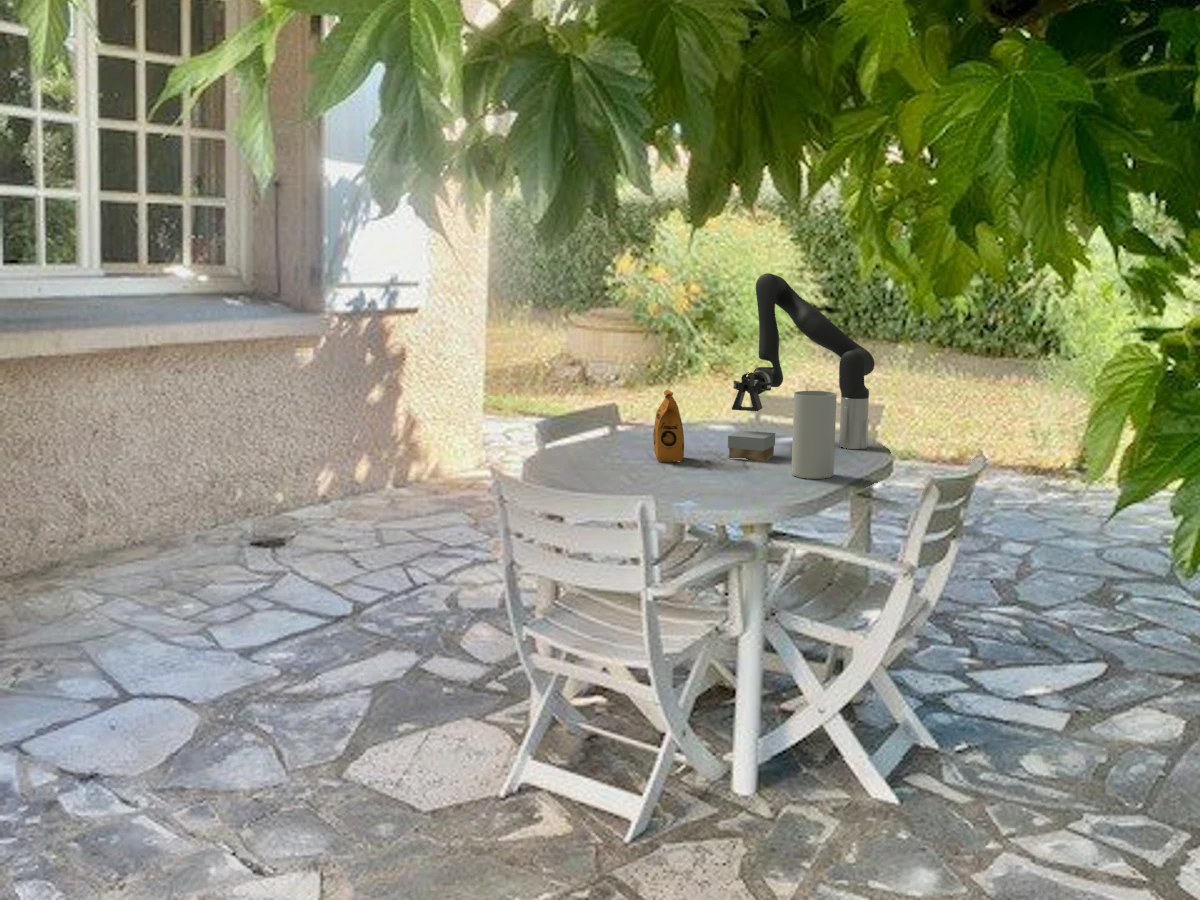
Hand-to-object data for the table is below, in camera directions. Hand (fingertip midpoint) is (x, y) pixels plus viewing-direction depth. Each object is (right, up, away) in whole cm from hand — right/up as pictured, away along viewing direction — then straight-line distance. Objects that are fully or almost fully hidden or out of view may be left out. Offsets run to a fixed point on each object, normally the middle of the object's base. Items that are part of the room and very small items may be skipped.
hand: (746, 388), depth 409 cm
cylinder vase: (+16, -28, -31) cm, 44 cm away
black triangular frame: (+1, -7, +4) cm, 8 cm away
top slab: (+2, -19, -1) cm, 19 cm away
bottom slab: (+2, -23, -1) cm, 23 cm away
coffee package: (-26, -23, -5) cm, 35 cm away
